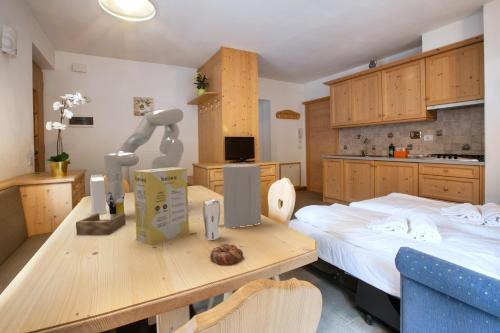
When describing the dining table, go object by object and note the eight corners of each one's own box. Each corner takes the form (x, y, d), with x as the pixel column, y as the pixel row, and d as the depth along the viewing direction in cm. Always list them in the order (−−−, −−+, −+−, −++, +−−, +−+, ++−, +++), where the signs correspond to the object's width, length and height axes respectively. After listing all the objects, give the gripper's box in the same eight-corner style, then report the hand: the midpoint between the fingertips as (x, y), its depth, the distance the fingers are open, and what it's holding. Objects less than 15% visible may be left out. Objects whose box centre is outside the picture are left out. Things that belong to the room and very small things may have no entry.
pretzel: (205, 254, 89) (205, 244, 89) (234, 249, 94) (234, 239, 93) (215, 269, 78) (214, 257, 78) (247, 262, 83) (247, 251, 82)
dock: (125, 224, 123) (124, 213, 123) (108, 234, 109) (108, 222, 109) (96, 224, 123) (96, 213, 123) (76, 234, 109) (75, 222, 109)
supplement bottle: (127, 217, 133) (125, 193, 132) (116, 221, 127) (114, 196, 126) (118, 216, 136) (116, 192, 135) (107, 219, 130) (105, 195, 129)
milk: (106, 213, 144) (104, 174, 142) (94, 215, 140) (91, 175, 138) (103, 211, 149) (101, 173, 147) (91, 213, 145) (89, 174, 143)
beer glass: (223, 235, 106) (222, 200, 105) (215, 242, 100) (214, 204, 98) (208, 234, 109) (207, 199, 107) (200, 240, 102) (199, 203, 101)
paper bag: (211, 224, 122) (209, 166, 119) (231, 217, 134) (230, 164, 131) (243, 232, 111) (242, 168, 108) (261, 223, 123) (261, 165, 120)
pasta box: (174, 227, 118) (171, 167, 116) (188, 231, 112) (186, 168, 109) (136, 239, 103) (133, 170, 101) (151, 245, 97) (147, 172, 95)
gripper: (116, 175, 138) (118, 207, 140) (96, 180, 121) (99, 217, 123) (129, 175, 138) (132, 207, 140) (112, 180, 121) (115, 216, 123)
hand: (117, 211), depth 131 cm, fingers closed on supplement bottle, 6 cm apart
